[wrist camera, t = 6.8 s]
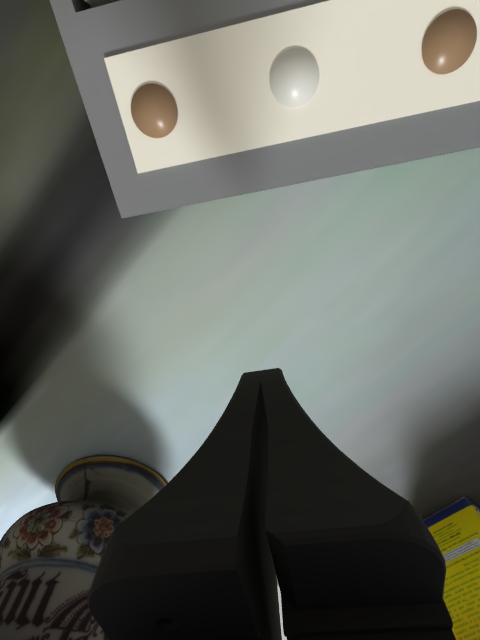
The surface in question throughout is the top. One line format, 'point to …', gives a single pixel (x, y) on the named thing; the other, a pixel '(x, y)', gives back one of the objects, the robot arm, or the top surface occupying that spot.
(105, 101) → the button board
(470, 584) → the supplement box
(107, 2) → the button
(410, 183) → the top surface
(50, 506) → the apothecary jar
